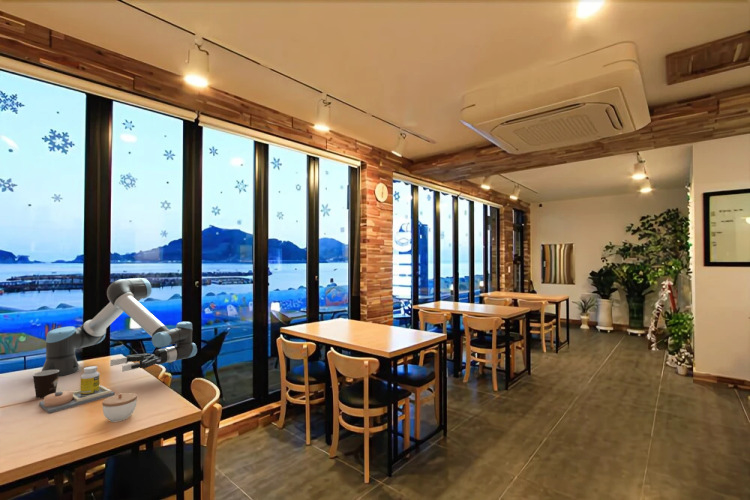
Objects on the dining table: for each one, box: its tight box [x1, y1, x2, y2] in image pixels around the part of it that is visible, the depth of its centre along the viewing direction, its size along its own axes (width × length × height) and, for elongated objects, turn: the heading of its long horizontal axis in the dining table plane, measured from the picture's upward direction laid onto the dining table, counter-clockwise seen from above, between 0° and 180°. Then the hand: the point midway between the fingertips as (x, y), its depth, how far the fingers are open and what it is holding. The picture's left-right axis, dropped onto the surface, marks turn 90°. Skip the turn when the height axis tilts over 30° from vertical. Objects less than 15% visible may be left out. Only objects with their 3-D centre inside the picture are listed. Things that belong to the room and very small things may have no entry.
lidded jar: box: [102, 392, 138, 423], centre depth 134 cm, size 11×11×9 cm
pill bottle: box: [80, 365, 101, 396], centre depth 155 cm, size 6×6×12 cm
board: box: [38, 384, 116, 414], centre depth 151 cm, size 14×22×5 cm, turn 146°
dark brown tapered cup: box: [32, 370, 60, 399], centre depth 158 cm, size 12×9×10 cm
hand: (116, 365), depth 163 cm, fingers open, 13 cm apart
